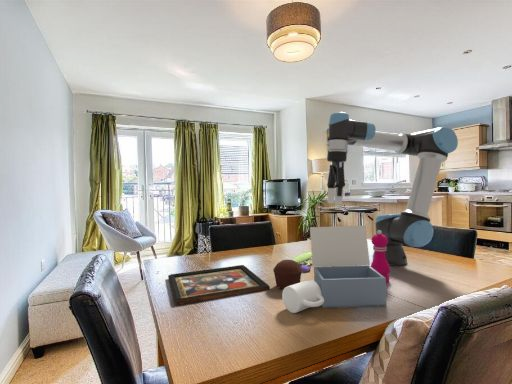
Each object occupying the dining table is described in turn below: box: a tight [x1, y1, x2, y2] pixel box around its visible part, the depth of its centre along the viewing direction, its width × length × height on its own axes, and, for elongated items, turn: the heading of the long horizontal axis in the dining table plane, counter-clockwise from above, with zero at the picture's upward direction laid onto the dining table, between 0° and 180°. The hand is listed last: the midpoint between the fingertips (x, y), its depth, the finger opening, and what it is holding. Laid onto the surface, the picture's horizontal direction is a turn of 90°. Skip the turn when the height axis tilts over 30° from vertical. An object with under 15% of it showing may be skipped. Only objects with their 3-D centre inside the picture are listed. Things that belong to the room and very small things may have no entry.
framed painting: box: [167, 264, 271, 307], centre depth 118 cm, size 38×35×3 cm
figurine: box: [291, 251, 312, 273], centre depth 140 cm, size 18×27×6 cm
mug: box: [281, 279, 324, 314], centre depth 91 cm, size 12×10×8 cm
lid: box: [309, 225, 371, 268], centre depth 107 cm, size 21×14×1 cm
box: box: [313, 265, 387, 309], centre depth 98 cm, size 20×14×9 cm
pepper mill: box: [370, 230, 391, 283], centre depth 115 cm, size 7×7×20 cm
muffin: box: [272, 259, 303, 291], centre depth 112 cm, size 12×11×10 cm
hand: (334, 204), depth 117 cm, fingers open, 13 cm apart
